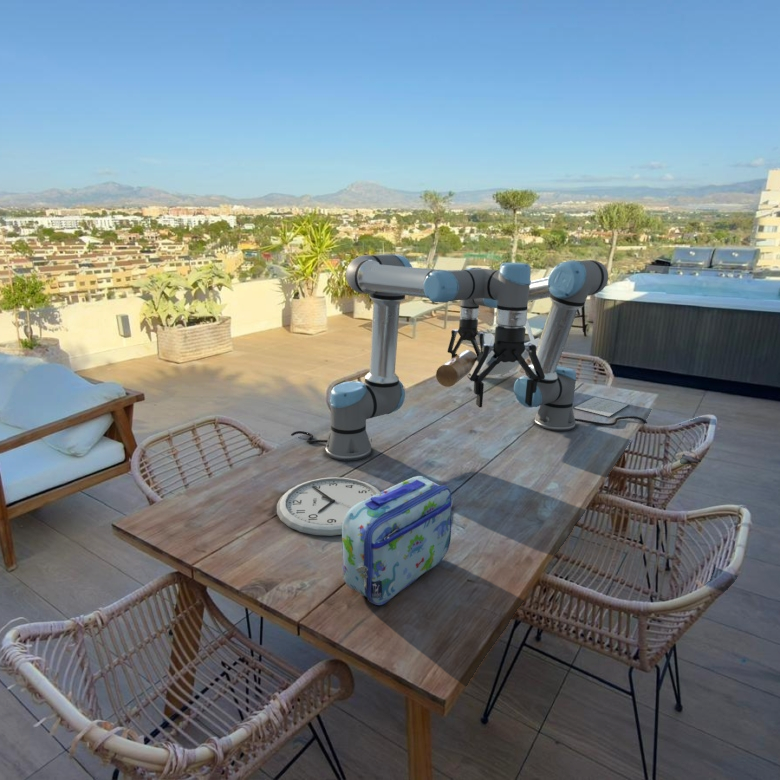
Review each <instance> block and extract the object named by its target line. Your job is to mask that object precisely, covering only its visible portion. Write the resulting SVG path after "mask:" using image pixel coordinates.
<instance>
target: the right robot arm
mask: <svg viewBox="0 0 780 780" xmlns="http://www.w3.org/2000/svg"><path fill="white" fill-rule="evenodd" d="M608 281H609V271H608V269H607V267H606V266H605V265H604V264H603V263H602V262H600V261H597V260H594V259H587V260H574V259H573V260H572V259H571V260H566V261H563V262H560V263H558V264H557V265H555V266H554V267H553V269H552V270H551V271H550V273H549V274H548V277H542V278H539V279H534V280H531V283H530V289H529V296H528V302H532V301H537V300H543V299H550V301H551V305H550V307H549V311H548V314H547V316H546V320H545V324H544V327H543V329H542V332H541V335H540V337H539V339H540V341H539V344H538V347H537V350H536V354H537V357H538V360H539V362H540V365H541V367H542V370H543V372H544V375H545V378H544V379H540V380H539V382H538V383H537V387H536V392H535V393H533V397H532V406H528V405H527V404H526V403H525V397H526V387H527V379H530V380H531V378H530V377H529V376H528V374H527V373H526V372H525V371H524V373H523V376H520V377H518V378H517V379H516V380H515V381H514V384H513V393H514V395H515V398H516V400H517V401H518V403H520V404H521V405H522V406H523V407H526V408H538V410H537V411H536V413H535V417H534V424H535V425H536V426H537V427H539V428H542V429H544V430H549V431H556V432H567V431H572V430H574V429H575V428H576V422H579V423H585V424H591V425H597V426H605V427H611V426H615V425H617V423H618V421H619V420H629V419H635V420H638V421H641V422H643V423H644V424H648V421H647V420H646V419H644V418H642V417H640V416H635V415H627V416H626V415H625V416H618V417H615V418H614V421H613V422H598V421H594V420H593V421H592V420H586V419H581V418H575V417H576V416H575V413H574V407H573V405H574V398H575V390H576V383H577V372H576V371H575V369H572V368H571V367H570V368H569V367H566V366H561V365H559V362H560V360H561V357H562V354H563V351H564V349H565V346H566V343H567V340H568V337H569V334H570V331H571V329H572V326H573V324H574V323H573V322H574V321H575V318H576V315H577V313H578V310H580V309H581V308H584V306H585V304H586V301H587V298H588V296H593V295H597V294H598V293H600V292H602V291H603V290H604V289H605V288H606V286H607V284H608ZM480 306H481V307H486V308H489V309H497V300H493V299H485V298H478V299H468V300H460V307H459V317H460V318H459V322H458V323H459V324H458V329H452V330H451V331H450V332H451V337H450V340H449V344H448V347H447V351H446V352H447V353H448V354H450V355H451V359H452V358H454V357H456V356H457V355H458V353H457V352H458V350H459V348H460V346H461V345H462V343H463V341H468V342H470V343H471V344H472V347H473V350H474V353H475V354H476V355H477V357H476V358H475V361H476V360H477V358H478V356H479V354H480V351H481V348H482V345H483V344H485V343H484V335H485V332H480V331H478V325H479V324H478V323H479V319H478V318H479V311H480ZM457 335H459V338H458V340H457V342H456V344H455V341H456V337H457ZM477 336H478V340H479V345H478V342H477ZM479 347H480V348H479ZM451 359H450V360H451ZM528 366H529V367H530V368H531V370H532V371H533V372H534V374H536V372H535V369H534V367H533V364H532V363H530V364H528Z"/></svg>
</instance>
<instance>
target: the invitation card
mask: <svg viewBox="0 0 780 780" xmlns="http://www.w3.org/2000/svg"><path fill="white" fill-rule="evenodd" d="M628 406H629V404H627V403H623V402H618V401H614V400H609V399H605V398H601V397H596V396H593V397H592V398H590V399H588V400H586V401H584V402H582V403H580V404H578V405H575V406H574V407H573V409H575V410H581V411H584V412H587V413H593V414H596V415H600V416H604V417H608V418H609V417H611V416H613V415H614V414H616V413H617V412H619V411H621V410H623V409H624V408H626V407H628Z"/></svg>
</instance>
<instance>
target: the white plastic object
mask: <svg viewBox="0 0 780 780" xmlns="http://www.w3.org/2000/svg"><path fill="white" fill-rule="evenodd" d="M524 327H525V328H526V331H527V332H526V333H527V335H528V338H529V341H527V342H524V345H528V344H529V343H532V344H534V345H535V346H536V350H537V347H538V344H539V341H540V337H537V338H535V337H534V334H533V330H532V328H531V325H530V323H529V319H528V318H527V320H526V325H525V326H524ZM484 333H485V332H484ZM494 342H495V334H493V333H485V335H484V343H485V344H486V345H491V346H493V345H494ZM480 352H481V350H480ZM494 354H495V353H494V352H493V350H492V351H491V352H490V353H489V354H488V356H487V358H486V360H485V362H484V363H483V365H482V367H481V369H482V368H483V367H484V366H485V365H486V364H487V363H488V362H489V360H490V359H491V357H492V356H493V355H494ZM521 356H522V357H523V358H524V360H525V361H526V360H527V359H528V357H529V360H530V364H532V362H531V359H530V356H529V354H528V352H527V351H526V350H525V351H524V352H523V353H522V355H521ZM518 365H520V364H519V362H518V361H515V362H502V361H501V362H500V363H499V364H497V365H496V366H495V367H494V368H493V369H492V370H491V371H490V373H489V374H488V375H487V376H495V375H500V376H505V375H507V374H509V373H511V370H513V369H514V368H515V367H517V366H518ZM481 369H480V370H481ZM479 372H480V371H479ZM479 372H478V373H479Z"/></svg>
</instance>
